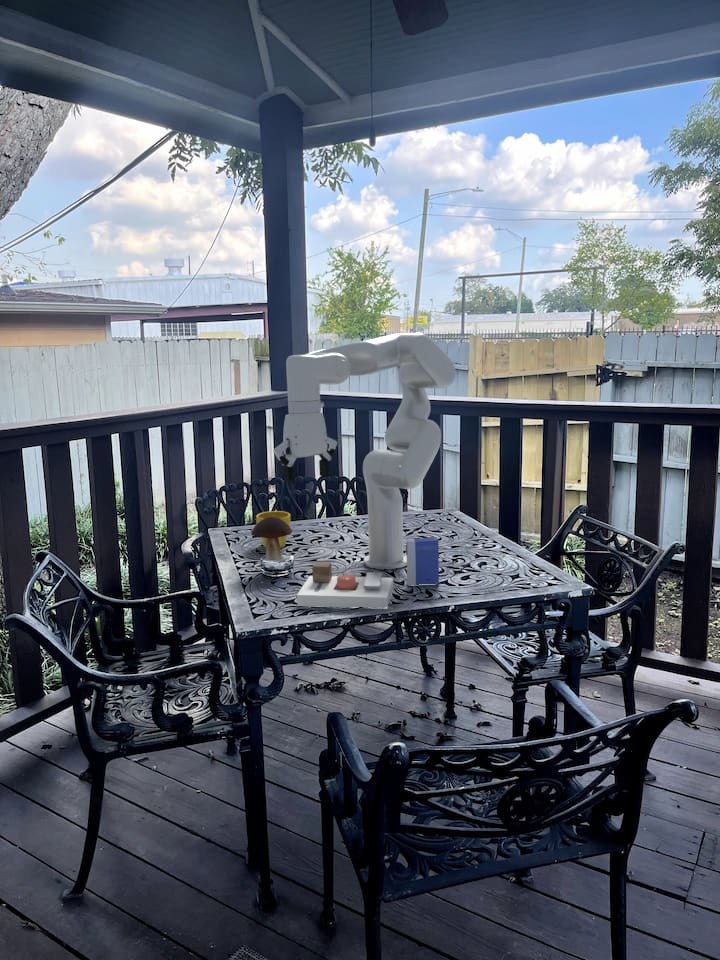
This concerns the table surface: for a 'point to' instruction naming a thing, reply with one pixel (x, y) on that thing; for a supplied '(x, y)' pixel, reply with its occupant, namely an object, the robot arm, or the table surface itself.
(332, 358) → the robot arm
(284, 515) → the plant pot
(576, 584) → the table surface
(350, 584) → the red button
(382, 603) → the control panel
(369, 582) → the grey rocker
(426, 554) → the walkman
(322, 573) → the walnut slider
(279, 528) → the decorative mushroom
